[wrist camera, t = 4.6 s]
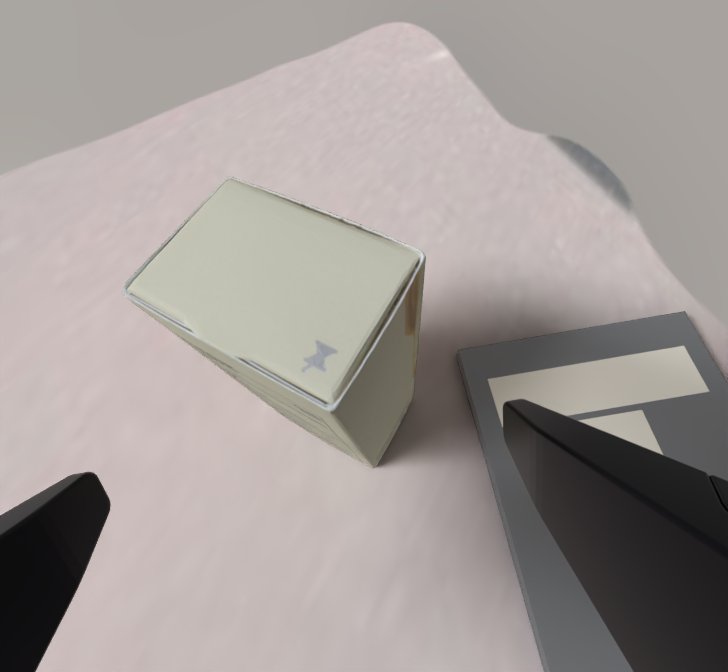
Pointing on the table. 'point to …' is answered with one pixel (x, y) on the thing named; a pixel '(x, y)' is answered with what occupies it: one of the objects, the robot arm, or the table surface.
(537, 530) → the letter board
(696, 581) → the robot arm
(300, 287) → the skincare box
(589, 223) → the table surface
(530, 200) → the table surface
